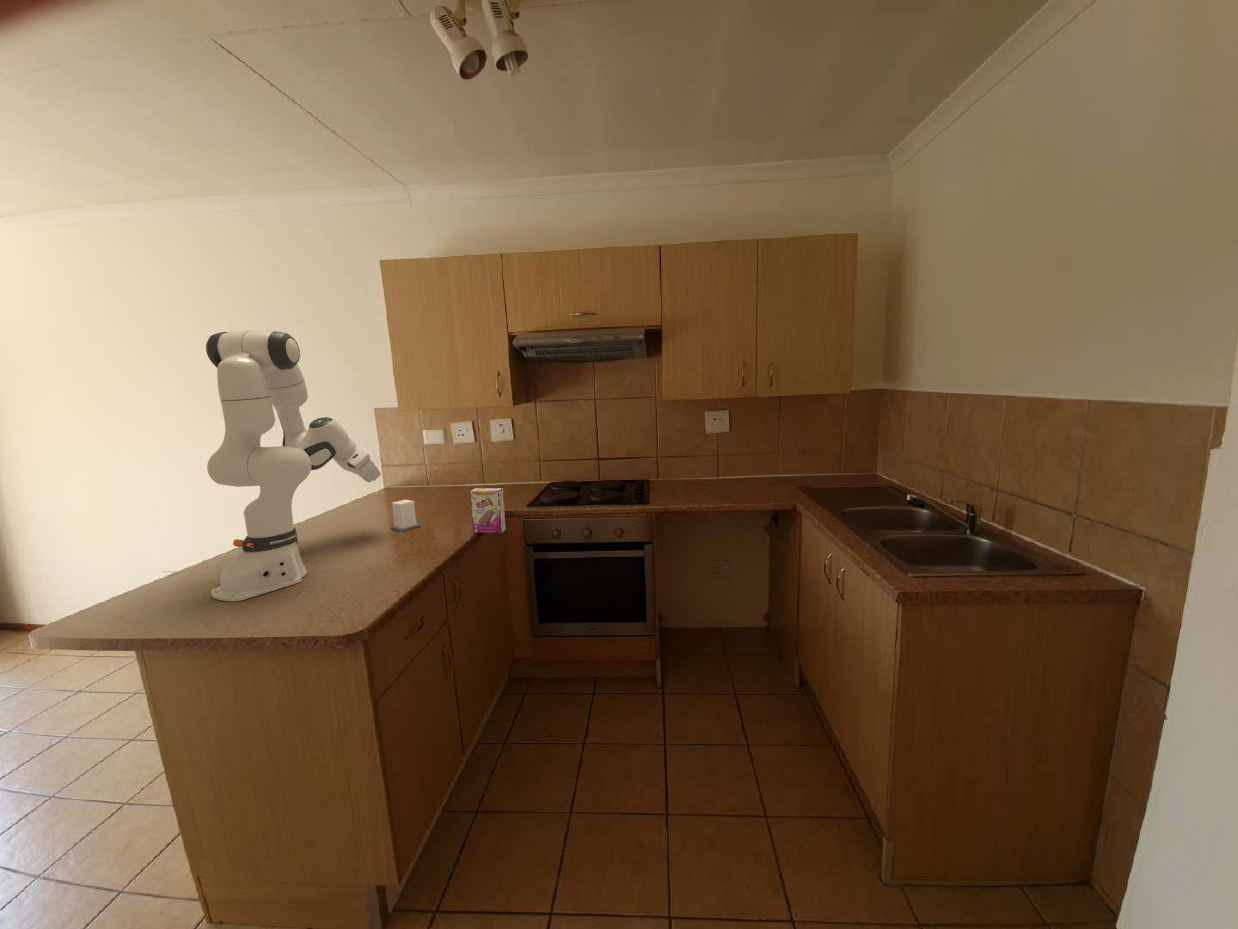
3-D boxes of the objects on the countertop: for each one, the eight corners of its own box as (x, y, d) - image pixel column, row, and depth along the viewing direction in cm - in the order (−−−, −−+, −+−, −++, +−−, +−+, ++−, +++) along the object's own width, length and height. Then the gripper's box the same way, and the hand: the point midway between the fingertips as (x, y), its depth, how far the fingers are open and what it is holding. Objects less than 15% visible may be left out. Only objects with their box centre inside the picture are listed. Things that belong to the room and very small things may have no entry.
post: (402, 531, 185) (399, 512, 184) (390, 528, 189) (388, 509, 188) (420, 526, 191) (418, 507, 190) (409, 523, 196) (407, 504, 195)
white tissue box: (402, 528, 186) (400, 504, 185) (394, 526, 190) (391, 502, 188) (416, 524, 191) (414, 501, 189) (407, 522, 194) (405, 499, 193)
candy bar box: (472, 534, 179) (469, 491, 177) (477, 530, 184) (474, 488, 182) (502, 534, 178) (498, 490, 176) (506, 530, 183) (503, 487, 180)
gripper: (323, 454, 177) (346, 479, 186) (357, 467, 167) (379, 493, 177) (337, 442, 180) (359, 468, 190) (371, 454, 170) (392, 481, 180)
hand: (369, 480), depth 183 cm, fingers closed
